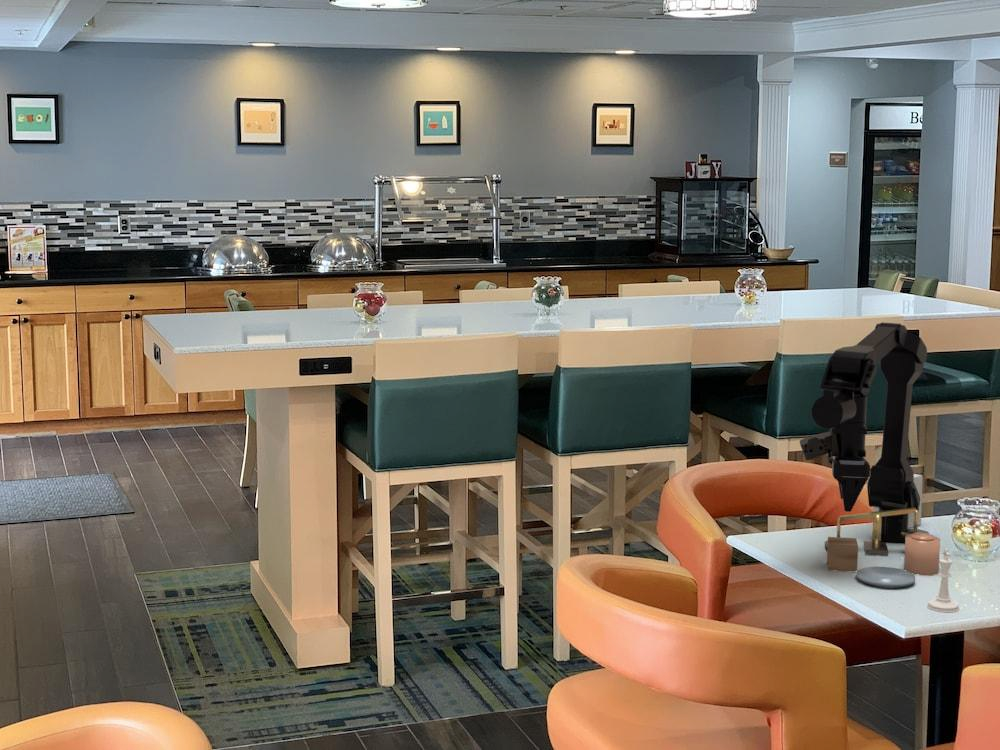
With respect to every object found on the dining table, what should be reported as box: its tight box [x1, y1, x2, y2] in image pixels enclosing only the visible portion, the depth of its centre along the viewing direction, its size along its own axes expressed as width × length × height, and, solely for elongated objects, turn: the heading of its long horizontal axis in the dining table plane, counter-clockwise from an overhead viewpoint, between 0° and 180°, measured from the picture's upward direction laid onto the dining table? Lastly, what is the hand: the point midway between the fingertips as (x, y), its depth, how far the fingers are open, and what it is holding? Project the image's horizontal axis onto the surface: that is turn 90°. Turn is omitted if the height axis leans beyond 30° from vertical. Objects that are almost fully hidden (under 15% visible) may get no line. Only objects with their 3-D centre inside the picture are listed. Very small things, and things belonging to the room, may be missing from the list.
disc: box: [855, 566, 916, 589], centre depth 228 cm, size 10×10×1 cm
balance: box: [824, 507, 930, 557], centre depth 246 cm, size 6×19×9 cm, turn 79°
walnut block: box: [826, 536, 859, 572], centre depth 236 cm, size 5×5×5 cm
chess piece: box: [927, 548, 960, 613], centre depth 213 cm, size 5×5×10 cm
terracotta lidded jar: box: [903, 533, 941, 576], centre depth 234 cm, size 6×6×6 cm
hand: (845, 504), depth 235 cm, fingers open, 9 cm apart
